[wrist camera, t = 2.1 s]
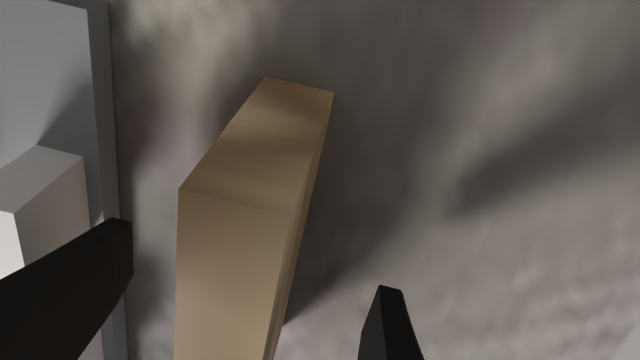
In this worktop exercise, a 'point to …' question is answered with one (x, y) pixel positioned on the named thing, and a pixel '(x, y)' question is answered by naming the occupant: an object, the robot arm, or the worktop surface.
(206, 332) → the oak block
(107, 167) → the board
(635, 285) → the worktop surface
